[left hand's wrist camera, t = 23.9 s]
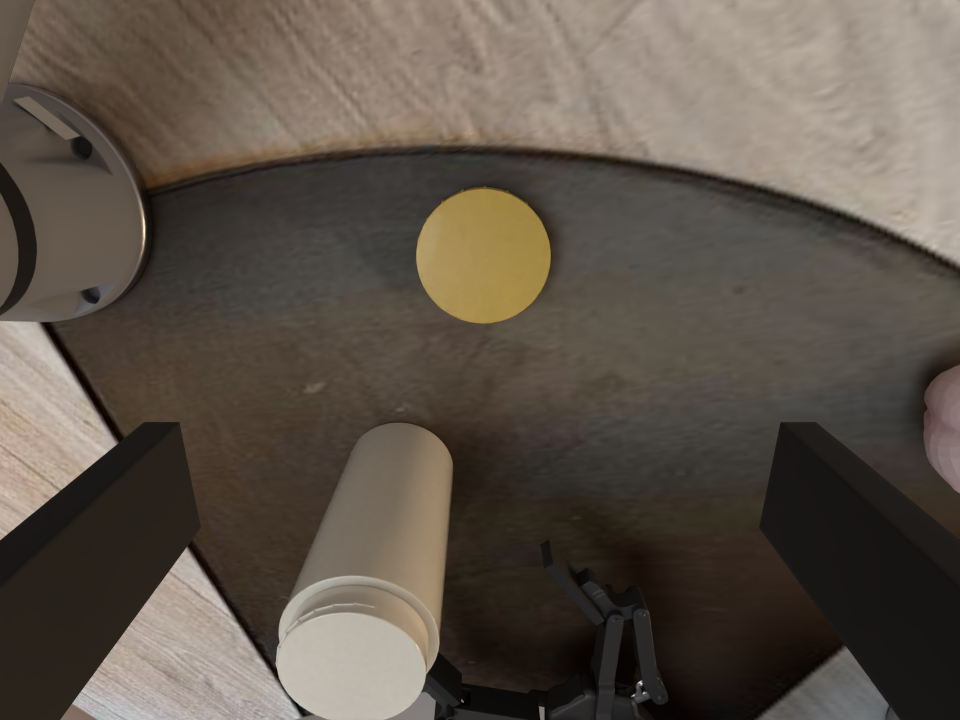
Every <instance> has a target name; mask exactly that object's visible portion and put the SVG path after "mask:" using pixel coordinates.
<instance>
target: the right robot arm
mask: <svg viewBox="0 0 960 720" xmlns="http://www.w3.org/2000/svg"><path fill="white" fill-rule="evenodd" d="M541 549H542V556H543V563H544V569H545V570H546V571H547V573H548V574H549V575H550V576H551V577H552V578H553V579H554V580H555V581H556V582H557V583H558V585H559V586H560V587H561V588H562V589H563V590H564V591H565V592H566V593H567V594H568V595H569V597H570V598H571V599H572V600H573V601H574V602H575V603H576V604H577V605H578V606H579V608H580V609H581V610H582V611H583V612H584V613H585V614H586V615H587V616H588V617H589V618H590V620H591V621H592V622H593V623H594V624H595V625H596V626H597V625H598V626H597V633H596V640H595V648H594V655H593V656H592V657H591V664H590V671H589V674H584V675H581V674H580V673H578V674H576V675H574V676H572V677H571V678H570V679H569V680H568V681H566V682H565V683H563V684H559V685H556V686H554V687H552V688H551V689H549V690H548V691H549V692H546V691H540V690H530V691H529V693H520V692H514V691H508V690H502V689H495V688H489V687H483V686H477V685H470V684H464V683H461V680H462V674H461V673H460V672H459V671H458V670H457V669H456V668H455V667H454V666H453V665H452V664H451V663H450V662H449V661H448V660H447V659H445V658H444V657H443V656H442V655H441V654H440V653H439V652H438V654H437V657H436V660H435V662H434V663H433V665H432V667H431V668H430V670H429V671H428V673H427V674H426V679H425V683H424V686H423V689H424V690H425V691H426V692H427V693H428V694H430V696H431V697H432V698H434V699H435V700H436V706H435V717H434V720H540V714H539V706H541V707H545V720H655V718H654V717H653V716H652V715H651V714H650V713H649V712H648V711H647V710H646V709H645V708H644V707H643V705H642V704H641V702H643V701H646V700H648V699H650V698H651V699H652V700H653V702H654V703H655V704H658V705H662V704H665V703H666V702H667V701H668V695H667V692H666V689H665V686H664V683H663V680H662V677H661V674H660V671H659V669H658V668H657V666H656V660H655V653H654V645H653V638H652V630H651V623H650V615H649V612H648V609H647V606H646V603H645V600H644V597H643V594H642V592H641V589H640V588H639V587H638V586H630V587H628V588H627V589H626V592H625V593H621V594H616V592H615V588H614V587H613V586H612V585H605V584H604V583H603V582H602V581H601V580H600V579H599V578H598V576H597V575H596V574H595V573H594V572H593V571H592V570H590V569H588V568H586V569H584V570H583V571H581V572H578V571H577V570H576V569H575V568H574V567H573V566H572V564H571V563H570V562H569V561H568V560H567V559H566V558H565V557H564V556H563V554H562V553H561V552H560V551H559V550H558V549H557V548H556V547H555V545H554V544H553V543H552V542H551V541H550V540H547V541H545V542H544V543H542V544H541ZM628 619H629V620H630V626H631V633H632V640H633V647H634V653H635V658H636V662H637V665H638V667H636V668H635V674H634V675H633V679H634V683H633V684H632V685H631V686H630V685H629V684H627V683H625V682H622V681H617V680H615V675H616V668H617V662H618V656H619V649H620V643H621V637H622V630H623V624H624V620H628ZM461 699H462V700H463V701H464V703H463V702H461ZM886 720H900V719H899V718H898V716H897V715H896V714H895V712H894V711H893V710H892V708H891V707H890V709H889V711H888V714H887V718H886Z"/></svg>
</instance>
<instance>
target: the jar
mask: <svg viewBox="0 0 960 720" xmlns="http://www.w3.org/2000/svg"><path fill="white" fill-rule="evenodd" d="M452 483H453V463H452V459H451V456H450V453H449V451H448V449H447V448H446V446H445V445H444V444H443V442H442V441H441V440H440V439H439V438H438V437H437V436H435V435H434V434H433V433H431V432H430V431H428V430H426V429H424V428H422V427H420V426H417V425H413V424H409V423H388V424H384V425H380V426H378V427H375V428H373V429H371V430H369V431H368V432H366V433H365V434H364V435H363V436H362V437H361V438H359V440H358V441H357V442H356V443H355V445H354V447H353V449H352V451H351V453H350V455H349V458H348V460H347V463H346V465H345V467H344V470H343V472H342V474H341V477H340V479H339V481H338V484H337V486H336V489H335V491H334V493H333V496H332V498H331V500H330V503H329V505H328V507H327V510H326V512H325V515H324V517H323V519H322V522H321V524H320V526H319V529H318V531H317V534H316V536H315V538H314V541H313V543H312V545H311V548H310V550H309V552H308V555H307V557H306V560H305V562H304V564H303V567H302V569H301V571H300V574H299V576H298V578H297V581H296V583H295V586H294V588H293V590H292V593H291V595H290V597H289V600H288V602H287V604H286V607H285V609H284V612H283V614H282V617H281V620H280V625H279V640H280V643H279V645H278V647H277V658H276V666H277V670H278V675H279V679H280V681H281V683H282V685H283V687H284V689H285V690H286V691H287V693H288V694H289V695H290V696H291V697H292V699H293V700H294V701H295V702H297V703H298V704H299V705H300V706H302V707H303V708H305V709H306V710H308V711H309V712H311V713H313V714H315V715H316V716H319V717H322V718H325V719H328V720H385V719H388V718H391V717H393V716H395V715H397V714H399V713H401V712H403V711H404V710H405V709H407V708H408V707H409V706H410V705H411V704H412V703H413V702H414V701H415V700H416V699H417V697H418V696H419V695H420V693H421V691H422V689H423V686H424V683H425V679H426V674H427V673H428V671H429V670H430V668H431V667H432V665H433V663H434V662H435V660H436V657H437V654H438V649H439V641H440V629H441V617H442V605H443V592H444V580H445V568H446V556H447V544H448V531H449V519H450V507H451V495H452Z"/></svg>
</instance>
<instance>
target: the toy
mask: <svg viewBox="0 0 960 720" xmlns="http://www.w3.org/2000/svg"><path fill="white" fill-rule="evenodd" d="M924 401H925V403H926V406H927V410H926V411H925V413H924V433H923V440H924V445H925V450H926V455H927V457H928V460H929V462H930V464H931V465H932V466H933V467H934V469H935V470H936V471H937V472H938V473H939V474H940V476H941V477H942V478H943V479H944V480H946V481H947V482H948V483H949V484H950V485H951V486H952V487H953V488H954V489H955V490H956V491H957V492H959V493H960V365H958V366H955V367H953V368H951V369H949V370H947V371H945V372H942V373H941V374H939V375H938V376H937V377H936V378H935V379H934V380H933V381H932V382H931V383H930V385H929V386H928V388H927V389H926V391H925V397H924Z"/></svg>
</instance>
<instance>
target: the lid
mask: <svg viewBox="0 0 960 720" xmlns="http://www.w3.org/2000/svg"><path fill="white" fill-rule="evenodd" d="M426 220H427V221H426V222H425V224H424V226H423V228H422V230H421V233H420V236H419V238H418V239H417V240H418V244H417V250H416V263H417V269H418V273H419V277H420V280H421V282H422V285H423V286H424V288H425V290H426V292H427V293H428V295H429V296H430V298H431V299H432V300H433V301H434V302H435V303H436V304H437V305H438V306H439V307H440V308H441V309H443V310H444V311H445V312H447V313H449V314H450V315H452V316H454V317H456V318H458V319H461V320H464V321H468V322H473V323H493V322H499V321H502V320H505V319H508V318H510V317H513V316H515V315H517V314H518V313H520V312H521V311H523V310H524V309H525V308H527V307H528V306H529V305H530V304H531V303H532V302H533V301H534V300H535V299H536V297H537V296H538V294H539V293H540V292H541V290H542V288H543V286H544V284H545V282H546V279H547V277H548V273H549V269H550V261H551V250H550V244H549V243H550V241H549V239H548V236H547V232H546V230H545V228H544V226H543V224H542V222H543V221H542V220H541V219H540V218H539V217H538V216H537V215H536V214H535V212H534V211H533V210H532V209H531V207H530V206H529V205H528V203H527V202H526V201H525V202H524V201H523V200H522V199H520V198H519V197H517V196H516V195H514V194H512V193H510V192H508V190H506V191H505V190H502V189H498V188H493V187H486V186H484V187H474V188H469V189H465V190H464V189H462V190H461V191H459V192H457V193H455V194H453V195H451V196H450V197H448V198H447V199H445V200H444V199H443V200H442V201H441V203H440V204H439V205H438V206H437V207H436V208H435V210H434V211H433V212H432V213H431V215H430V216H428V217H427V218H426Z"/></svg>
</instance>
